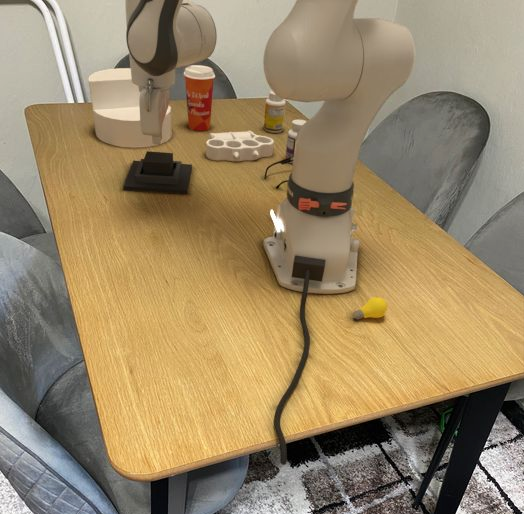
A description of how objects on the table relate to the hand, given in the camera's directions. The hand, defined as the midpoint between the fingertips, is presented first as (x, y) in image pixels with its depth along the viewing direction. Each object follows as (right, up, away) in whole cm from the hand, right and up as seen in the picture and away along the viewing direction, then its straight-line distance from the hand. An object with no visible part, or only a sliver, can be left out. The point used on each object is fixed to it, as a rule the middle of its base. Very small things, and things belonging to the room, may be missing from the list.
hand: (157, 142), depth 114 cm
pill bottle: (+32, +3, +21) cm, 38 cm away
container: (-11, +12, +26) cm, 31 cm away
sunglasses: (+30, -5, +11) cm, 32 cm away
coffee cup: (+5, +17, +33) cm, 37 cm away
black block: (-1, -5, +6) cm, 8 cm away
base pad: (-1, -6, +6) cm, 9 cm away
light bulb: (+41, -40, -26) cm, 63 cm away
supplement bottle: (+26, +18, +36) cm, 48 cm away
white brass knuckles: (+17, +6, +22) cm, 28 cm away
